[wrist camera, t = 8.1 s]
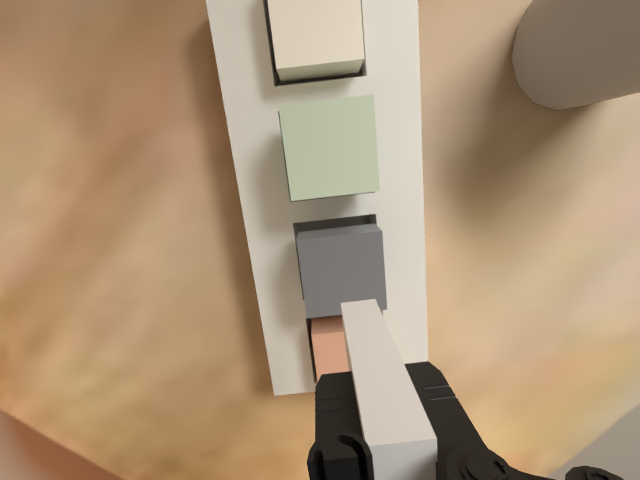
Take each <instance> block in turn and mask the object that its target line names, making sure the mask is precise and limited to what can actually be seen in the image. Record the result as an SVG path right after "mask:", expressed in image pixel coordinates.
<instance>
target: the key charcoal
mask: <svg viewBox="0 0 640 480" xmlns="http://www.w3.org/2000/svg"><path fill="white" fill-rule="evenodd" d="M296 241H297V249H298V256H299V264H300V271H301V278H302V286H303V293H304V301H305V308H306V316H307V318H316V317H325V316H334V315H342V312H341V303H344V302H353V301H362V300H370V299H376V301H377V304H378V306H379V308H380V310H387V297H386V281H385V266H384V250H383V234H382V230H381V229H380V228H379V227H378V226H376V225H375V224H365V225H356V226H347V227H338V228H329V229H321V230H312V231H303V232H298V236H297V240H296Z"/></svg>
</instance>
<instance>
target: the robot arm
mask: <svg viewBox="0 0 640 480" xmlns="http://www.w3.org/2000/svg"><path fill="white" fill-rule="evenodd" d="M341 312H342V321H343V329H344V338H345V347H346V356H347V363H348V369H349V371H347V372H338V373H329V374H322V375H321V377H320V379H319V381H318V383H317V384H316V386H315V401H316V403H315V413H316V415H315V443H314V444H313V446H312V447H311V449H310V450H309V455H308V460H307V466H308V472H309V477H310V480H554V479H549V478H545V477H540V476H535V475H531V474H528V473H524V472H521V471H518V470H516V469H514V468H512V467H510V466H509V465H508V464H507V463H506V461H505V460H504V459H503V458H501V457H500V456H498V455H497V454H496V453H494V452H493V451H491V450H489V449H488V448H487V446H486V445H485V444H484V442H483V441H482V439H481V437H480V436H479V434H478V432H477V431H476V429H475V427H474V426H473V424H472V422H471V421H470V419H469V417H468V416H467V414H466V412H465V411H464V409H463V407H462V406H461V404H460V402H459V401H458V399H457V398H456V397H455V394H454V392H453V391H452V389H451V387H449V384H448V382H447V381H446V379H445V377H444V376H443V374H442V372H441V371H440V370H438V369H437V368H436V367H435V366H433V365H432V364H431V363H430V362H428V361H426V362H417V363H408V364H404V363H403V360H402V358H401V356H400V354H399V351H398V349H397V347H396V344H395V342H394V340H393V338H392V335H391V333H390V331H389V329H388V326H387V324H386V322H385V320H384V317H383V315H382V313H381V310H380V308H379V306H378V304H377V301H376V299H370V300H362V301H353V302H344V303H341ZM565 480H624V479H622V478H621V477H618V476H617V475H614V474H612V473H609V472H607V471H605V470H602V469H599V468H594V467H589V466H581V467H574V468H572V469H571V470H570V471H569V472H568V473H567V474H566V476H565Z"/></svg>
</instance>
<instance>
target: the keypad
mask: <svg viewBox="0 0 640 480" xmlns="http://www.w3.org/2000/svg"><path fill="white" fill-rule="evenodd" d="M360 1H361V15H362V30H363V45H364V61H363V63H362V65H361V67H360V70H359V72H358V73H349V74H348V75H346V76H337V77H329V78H320V79H311V80H303V81H294V82H289V81H281V80H280V77H279V74H278V72H277V69H276V62H275V54H274V46H273V39H272V31H271V24H270V16H269V8H268V1H267V0H206V5H207V11H208V17H209V22H210V28H211V34H212V40H213V45H214V51H215V57H216V63H217V68H218V74H219V80H220V86H221V92H222V97H223V103H224V109H225V115H226V120H227V126H228V132H229V138H230V143H231V149H232V155H233V161H234V166H235V172H236V178H237V184H238V189H239V195H240V201H241V207H242V212H243V218H244V224H245V230H246V235H247V241H248V247H249V253H250V258H251V264H252V270H253V276H254V281H255V287H256V293H257V299H258V304H259V310H260V316H261V322H262V327H263V333H264V339H265V345H266V350H267V356H268V362H269V368H270V373H271V379H272V385H273V391H274V396H279V395H288V394H297V393H306V392H315V386H316V384H317V383H318V381H317V373H316V366H315V358H314V351H313V343H312V335H311V333H312V318H307V316H306V308H305V301H304V293H303V286H302V278H301V271H300V264H299V256H298V249H297V241H296V240H297V236H298V232H303V231H312V230H321V229H329V228H338V227H347V226H356V225H365V224H375V225H376V226H378V227H379V228H380V229H381V230H382V234H383V250H384V266H385V281H386V297H387V310H381V313H382V315H383V317H384V320H385V322H386V324H387V326H388V329H389V331H390V333H391V335H392V338H393V340H394V342H395V344H396V347H397V349H398V351H399V354H400V356H401V358H402V360H403V363H404V364H408V363H417V362H426V361H428V337H427V302H426V267H425V232H424V197H423V162H422V127H421V92H420V57H419V22H418V0H360ZM373 94H374V106H375V122H376V138H377V154H378V170H379V186H380V191H375V192H366V193H357V194H349V195H340V196H331V197H322V198H313V199H305V200H296V201H291V196H290V189H289V181H288V174H287V166H286V159H285V151H284V144H283V136H282V129H281V121H280V114H279V106H278V105H287V104H295V103H304V102H312V101H321V100H330V99H338V98H347V97H355V96H364V95H373ZM316 318H318V317H316Z"/></svg>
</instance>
